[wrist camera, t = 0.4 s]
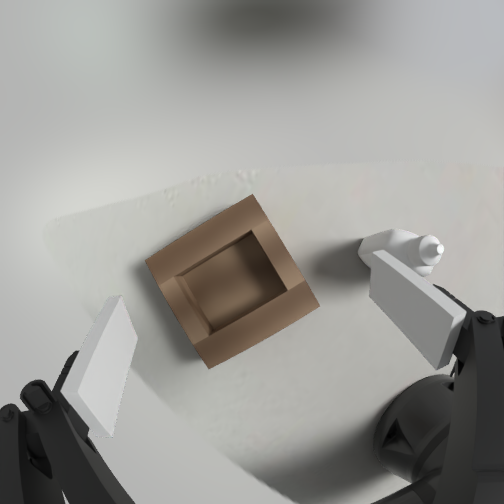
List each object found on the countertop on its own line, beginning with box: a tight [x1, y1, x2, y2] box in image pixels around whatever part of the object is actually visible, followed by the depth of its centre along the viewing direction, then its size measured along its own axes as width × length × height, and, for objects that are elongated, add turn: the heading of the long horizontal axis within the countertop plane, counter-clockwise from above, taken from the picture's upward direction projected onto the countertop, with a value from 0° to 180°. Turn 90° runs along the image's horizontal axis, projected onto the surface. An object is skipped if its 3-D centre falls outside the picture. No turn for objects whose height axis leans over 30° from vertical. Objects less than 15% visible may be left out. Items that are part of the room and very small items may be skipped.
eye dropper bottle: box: [358, 229, 444, 277], centre depth 23 cm, size 4×6×12 cm
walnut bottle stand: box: [145, 194, 320, 369], centre depth 28 cm, size 12×12×4 cm
